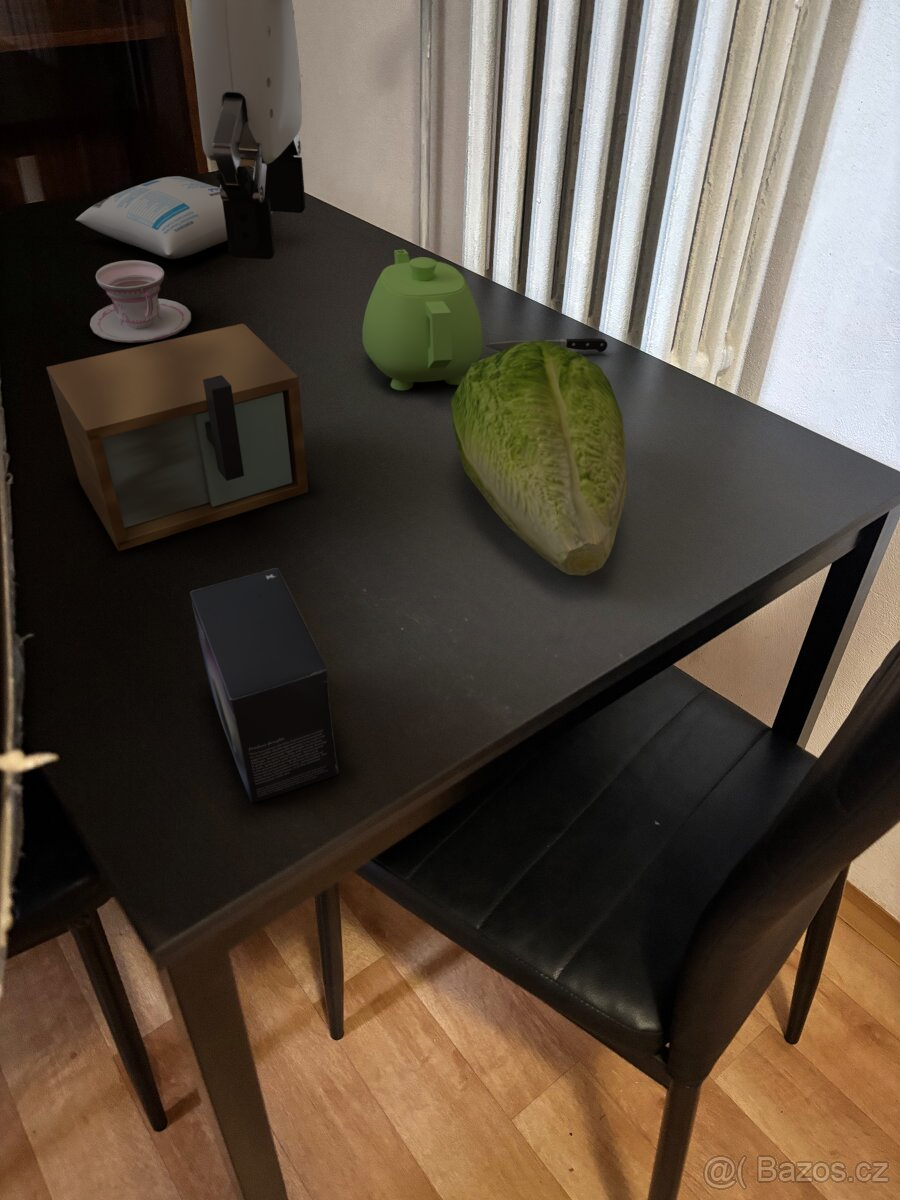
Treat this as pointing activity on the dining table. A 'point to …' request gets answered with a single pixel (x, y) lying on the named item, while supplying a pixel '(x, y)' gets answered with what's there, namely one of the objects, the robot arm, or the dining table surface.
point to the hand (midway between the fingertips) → (269, 232)
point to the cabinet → (166, 429)
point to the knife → (569, 343)
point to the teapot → (422, 323)
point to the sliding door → (242, 443)
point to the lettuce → (546, 450)
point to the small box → (266, 683)
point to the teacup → (136, 304)
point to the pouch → (162, 217)
